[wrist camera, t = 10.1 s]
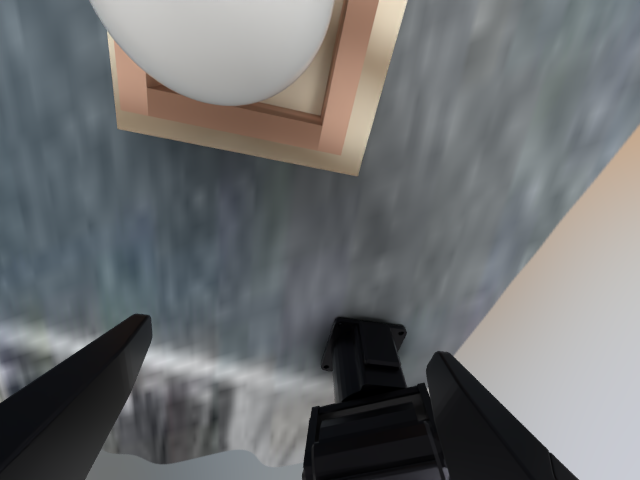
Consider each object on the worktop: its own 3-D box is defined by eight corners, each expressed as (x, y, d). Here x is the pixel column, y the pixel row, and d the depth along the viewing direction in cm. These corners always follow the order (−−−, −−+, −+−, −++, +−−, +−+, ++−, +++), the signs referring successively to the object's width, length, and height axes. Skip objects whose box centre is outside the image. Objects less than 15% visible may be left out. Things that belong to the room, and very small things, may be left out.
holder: (355, 170, 20) (365, 195, 17) (128, 124, 19) (84, 141, 15) (440, -139, 14) (488, -209, 10) (93, -261, 12) (-4, -402, 8)
